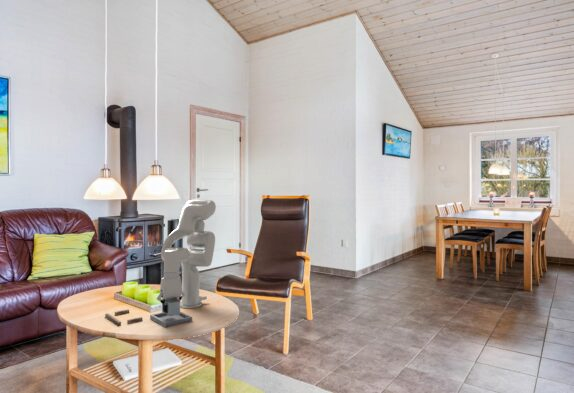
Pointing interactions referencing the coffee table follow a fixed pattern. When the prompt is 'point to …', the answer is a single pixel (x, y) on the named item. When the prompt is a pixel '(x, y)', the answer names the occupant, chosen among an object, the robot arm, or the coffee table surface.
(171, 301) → the grey rectangular block
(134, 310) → the coffee table surface
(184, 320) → the tray
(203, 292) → the coffee table surface
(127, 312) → the set of brown sticks
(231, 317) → the coffee table surface
